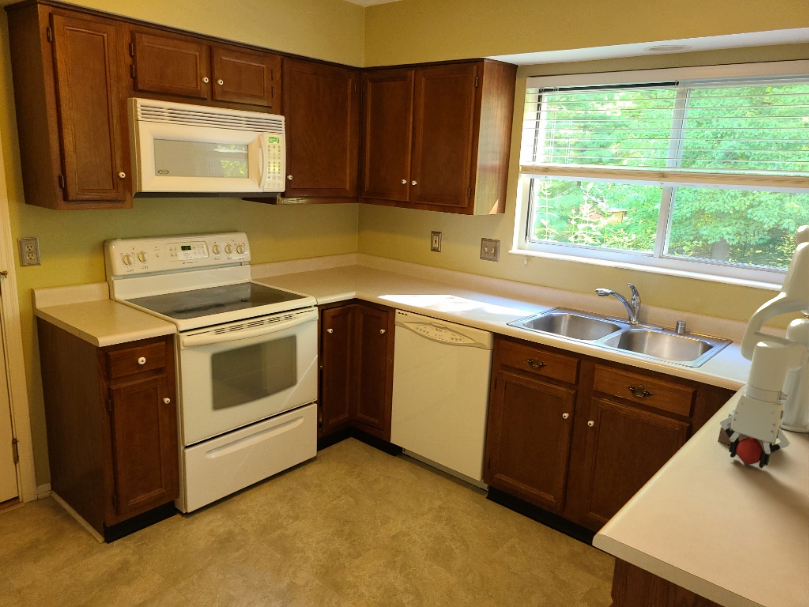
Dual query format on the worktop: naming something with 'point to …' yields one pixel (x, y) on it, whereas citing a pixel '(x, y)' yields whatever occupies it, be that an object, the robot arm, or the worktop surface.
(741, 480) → the worktop surface
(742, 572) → the worktop surface
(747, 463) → the onion
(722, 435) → the wood and metal block
